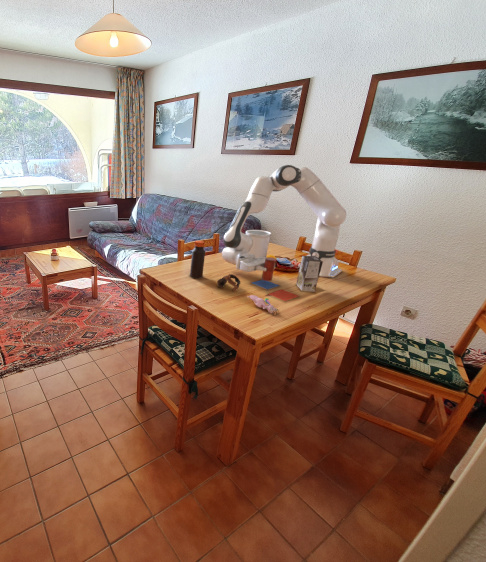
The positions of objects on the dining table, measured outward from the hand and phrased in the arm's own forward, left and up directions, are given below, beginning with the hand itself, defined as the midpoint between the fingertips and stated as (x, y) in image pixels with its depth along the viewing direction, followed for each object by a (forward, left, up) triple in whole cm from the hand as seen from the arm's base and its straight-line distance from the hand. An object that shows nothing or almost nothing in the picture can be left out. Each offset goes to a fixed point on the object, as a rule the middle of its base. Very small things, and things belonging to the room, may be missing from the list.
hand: (270, 268), depth 157 cm
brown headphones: (+21, -8, -10) cm, 25 cm away
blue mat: (0, -1, -9) cm, 9 cm away
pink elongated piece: (+24, +15, -10) cm, 30 cm away
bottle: (+23, -28, -10) cm, 38 cm away
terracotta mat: (+4, +12, -9) cm, 16 cm away
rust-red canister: (0, -1, -6) cm, 6 cm away
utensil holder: (-32, -33, -10) cm, 47 cm away
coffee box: (-14, +12, -10) cm, 21 cm away
